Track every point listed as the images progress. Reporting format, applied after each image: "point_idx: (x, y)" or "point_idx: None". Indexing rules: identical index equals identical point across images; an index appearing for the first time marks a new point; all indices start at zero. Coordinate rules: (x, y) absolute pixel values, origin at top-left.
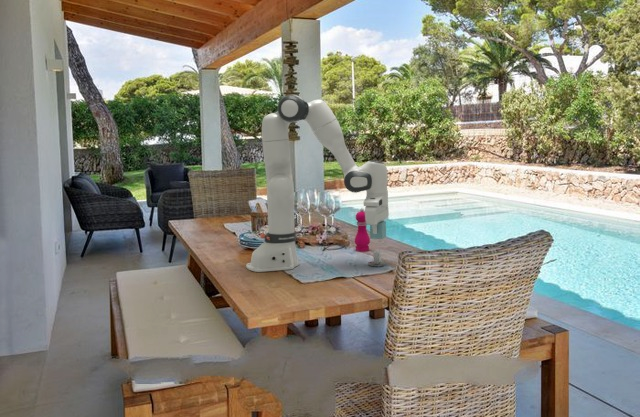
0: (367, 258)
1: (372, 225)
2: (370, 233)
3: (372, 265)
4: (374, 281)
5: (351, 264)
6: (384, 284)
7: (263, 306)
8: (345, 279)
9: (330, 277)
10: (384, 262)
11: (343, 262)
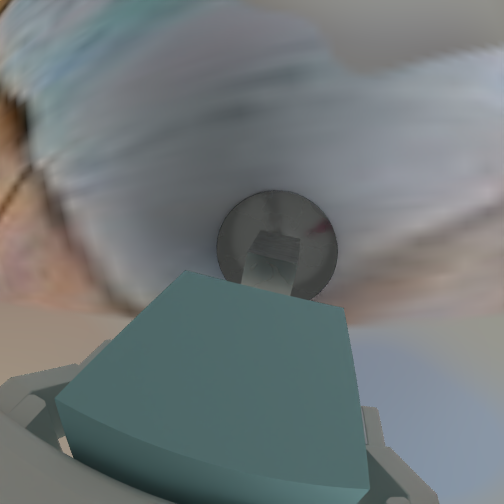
0: (438, 173)
1: (9, 394)
2: (156, 300)
3: (221, 226)
4: (14, 261)
5: (259, 86)
6: (5, 294)
7: None
8: (8, 149)
9: (22, 82)
10: (300, 293)
11: (306, 31)
